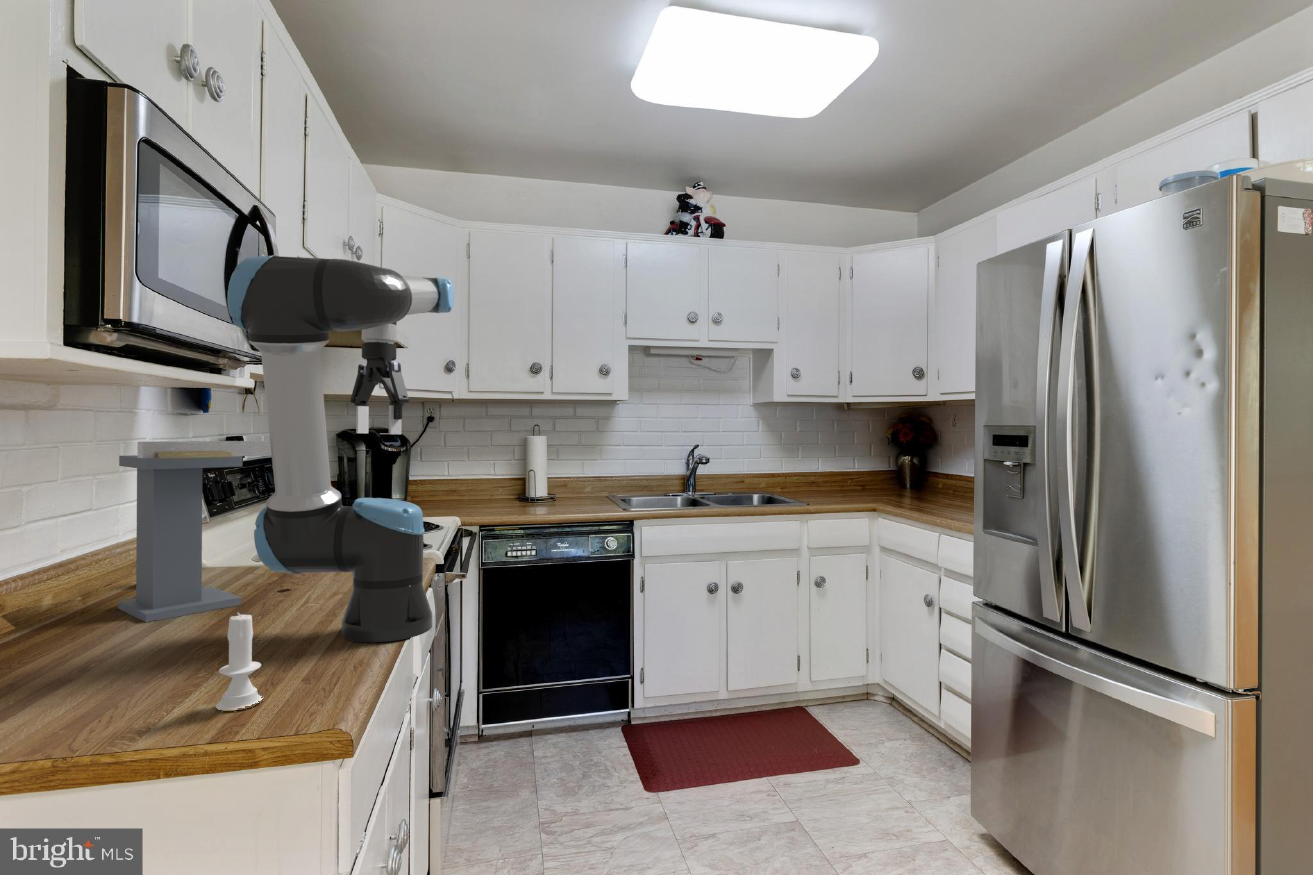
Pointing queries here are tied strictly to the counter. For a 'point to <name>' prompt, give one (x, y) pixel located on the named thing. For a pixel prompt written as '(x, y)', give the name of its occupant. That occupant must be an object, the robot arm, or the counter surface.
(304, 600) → the counter surface
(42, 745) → the counter surface
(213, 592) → the stand
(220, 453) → the bracket
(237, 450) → the rod
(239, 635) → the candle
